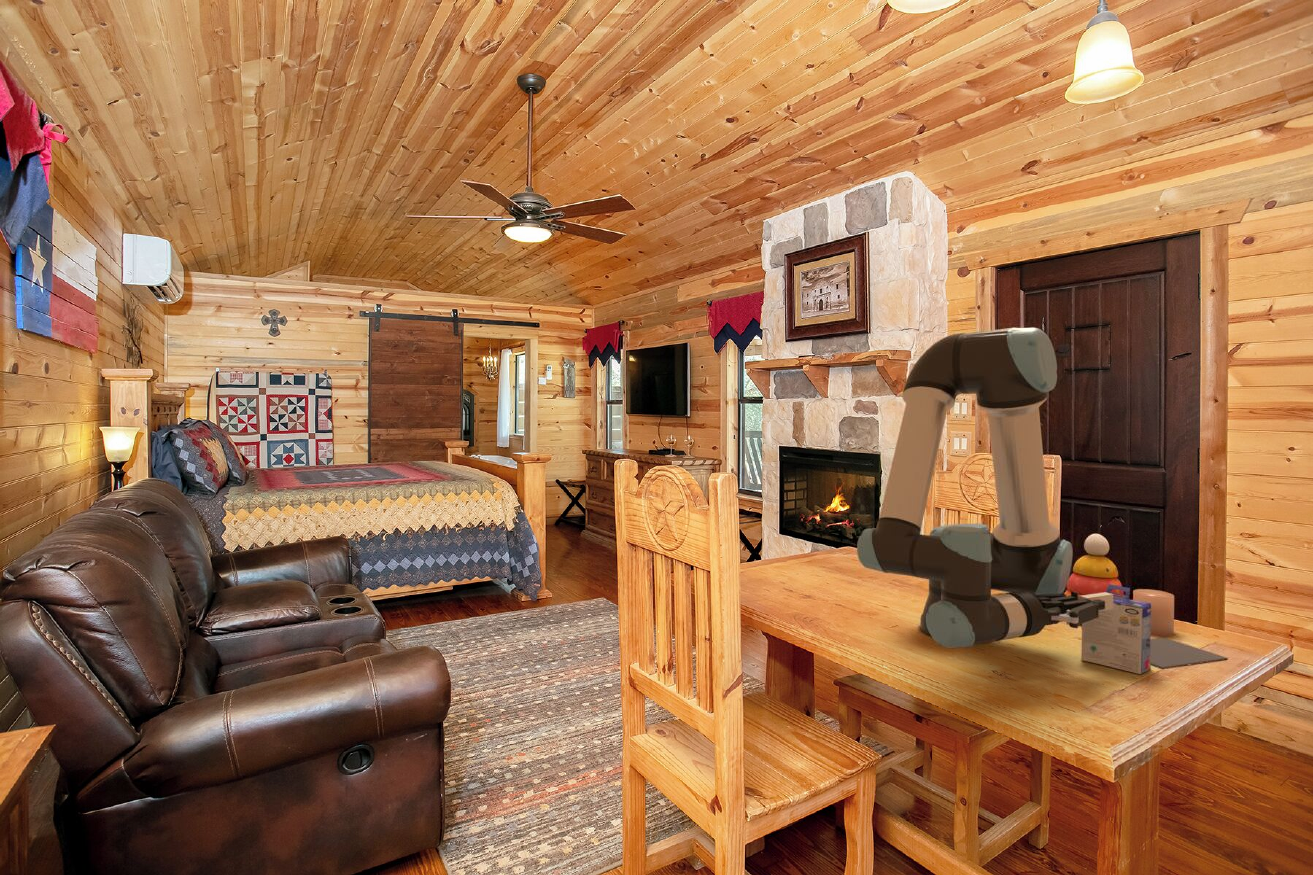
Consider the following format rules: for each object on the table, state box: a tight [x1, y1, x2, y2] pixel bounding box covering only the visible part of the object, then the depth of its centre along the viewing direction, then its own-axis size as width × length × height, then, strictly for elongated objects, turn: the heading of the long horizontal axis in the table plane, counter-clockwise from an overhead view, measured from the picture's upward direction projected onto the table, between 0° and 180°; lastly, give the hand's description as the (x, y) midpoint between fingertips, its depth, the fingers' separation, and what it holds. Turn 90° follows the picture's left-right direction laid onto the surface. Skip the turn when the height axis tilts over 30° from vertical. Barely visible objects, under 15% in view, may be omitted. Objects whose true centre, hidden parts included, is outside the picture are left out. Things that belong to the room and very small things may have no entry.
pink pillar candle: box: [1132, 588, 1175, 637], centre depth 141 cm, size 7×7×8 cm
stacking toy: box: [1063, 533, 1125, 597], centre depth 149 cm, size 14×14×20 cm
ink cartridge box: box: [1080, 584, 1152, 675], centre depth 123 cm, size 10×6×14 cm, turn 39°
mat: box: [1151, 636, 1229, 670], centre depth 128 cm, size 12×16×1 cm
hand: (1109, 600), depth 121 cm, fingers closed
